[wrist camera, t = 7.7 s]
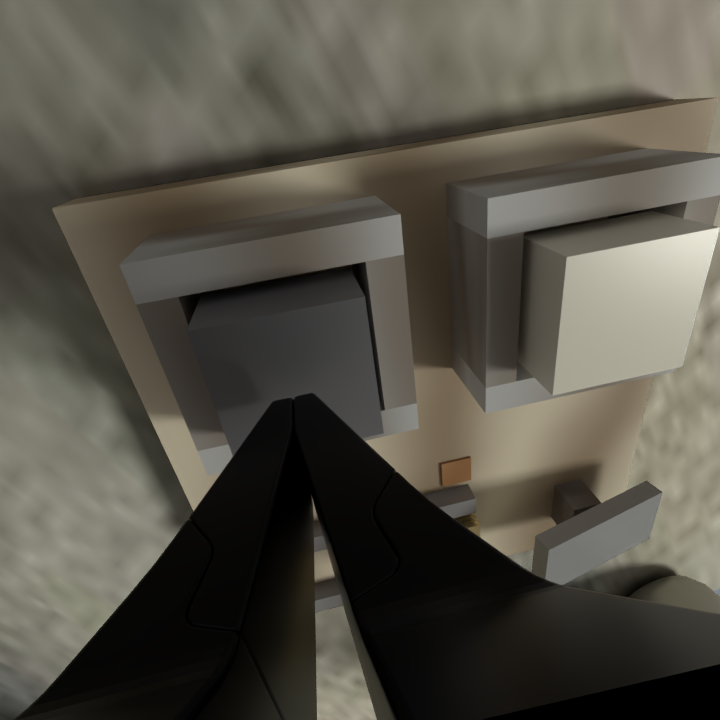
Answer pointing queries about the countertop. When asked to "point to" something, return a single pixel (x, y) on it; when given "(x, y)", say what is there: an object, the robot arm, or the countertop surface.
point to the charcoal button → (287, 350)
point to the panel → (407, 299)
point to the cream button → (611, 298)
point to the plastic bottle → (680, 594)
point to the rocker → (596, 535)
